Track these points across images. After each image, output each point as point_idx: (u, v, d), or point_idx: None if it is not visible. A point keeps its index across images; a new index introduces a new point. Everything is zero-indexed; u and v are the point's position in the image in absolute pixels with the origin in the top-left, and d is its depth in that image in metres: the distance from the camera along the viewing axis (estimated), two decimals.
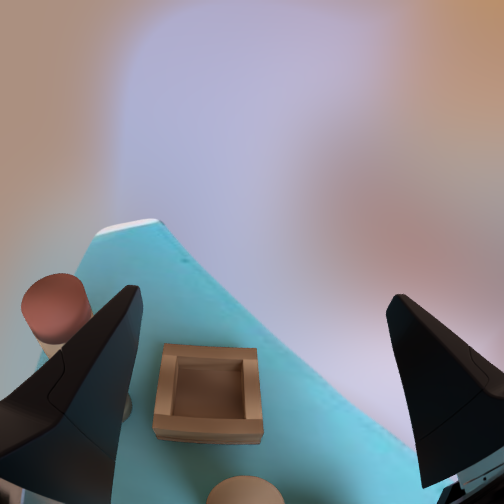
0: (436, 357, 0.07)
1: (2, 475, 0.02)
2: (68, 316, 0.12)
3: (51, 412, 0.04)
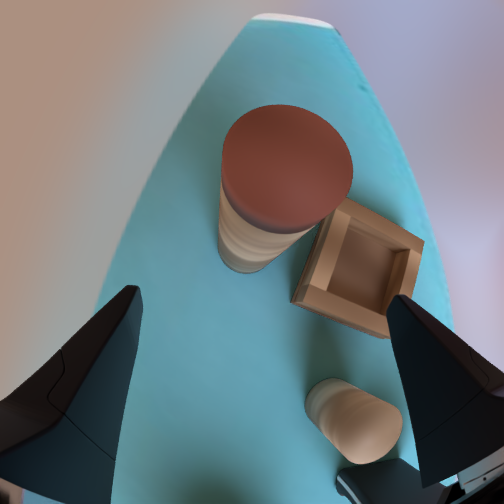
0: (436, 357, 0.07)
1: (2, 475, 0.02)
2: (328, 208, 0.08)
3: (51, 412, 0.04)
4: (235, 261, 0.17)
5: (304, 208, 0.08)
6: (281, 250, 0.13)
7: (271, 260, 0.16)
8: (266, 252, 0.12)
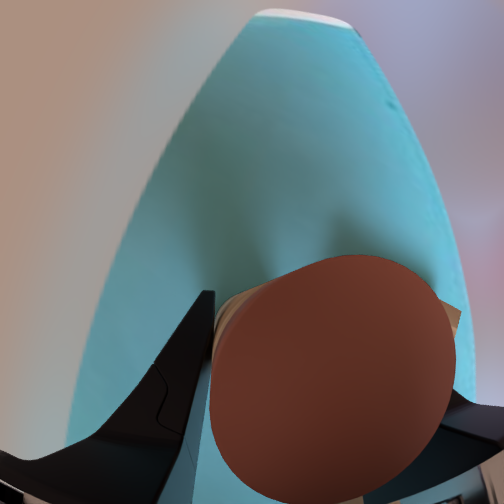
0: None
1: None
2: (400, 465, 0.03)
3: (168, 436, 0.04)
4: None
5: (363, 481, 0.03)
6: None
7: None
8: None
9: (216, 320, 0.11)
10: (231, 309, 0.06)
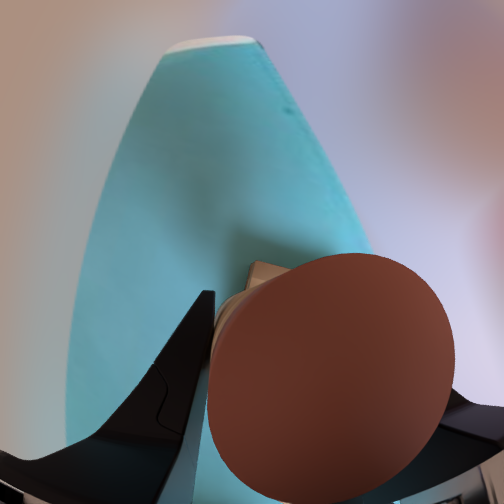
0: None
1: None
2: (399, 464, 0.03)
3: (168, 437, 0.04)
4: None
5: (362, 480, 0.03)
6: None
7: None
8: None
9: (215, 319, 0.11)
10: (230, 308, 0.06)
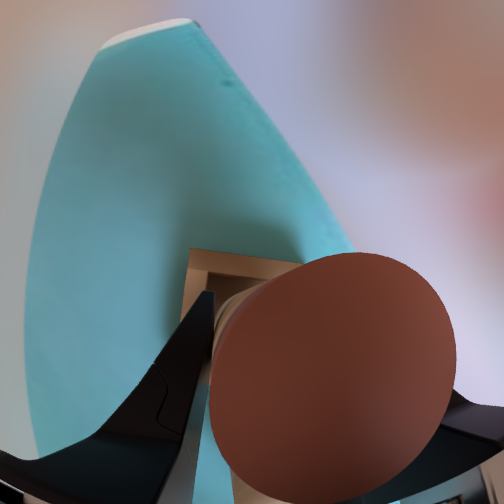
0: None
1: None
2: (400, 464, 0.03)
3: (168, 436, 0.04)
4: None
5: (364, 480, 0.03)
6: None
7: None
8: None
9: (216, 319, 0.11)
10: (231, 308, 0.06)
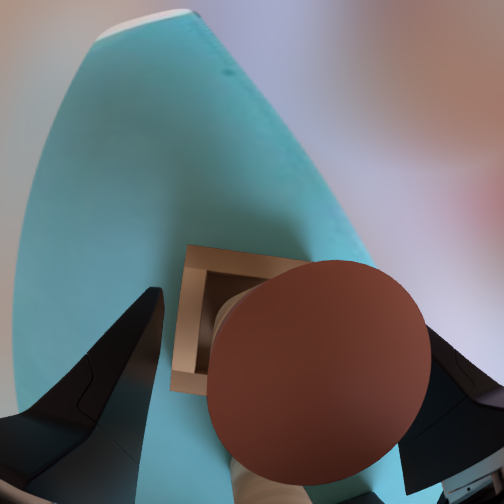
0: None
1: (40, 494, 0.02)
2: (380, 451, 0.04)
3: (83, 421, 0.04)
4: None
5: (345, 464, 0.04)
6: None
7: None
8: None
9: (216, 319, 0.12)
10: (228, 308, 0.07)
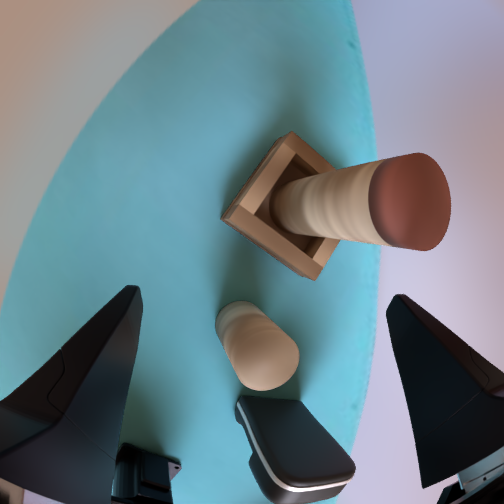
0: (436, 357, 0.07)
1: (2, 475, 0.02)
2: (426, 247, 0.10)
3: (51, 412, 0.04)
4: (294, 221, 0.18)
5: (417, 240, 0.10)
6: None
7: None
8: (344, 237, 0.15)
9: (306, 180, 0.17)
10: (369, 162, 0.12)
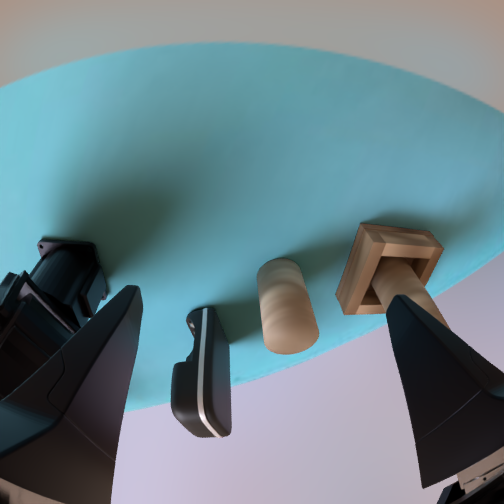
0: (436, 357, 0.07)
1: (2, 475, 0.02)
2: None
3: (51, 412, 0.04)
4: (390, 290, 0.21)
5: None
6: None
7: None
8: None
9: (422, 287, 0.20)
10: None
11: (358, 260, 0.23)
